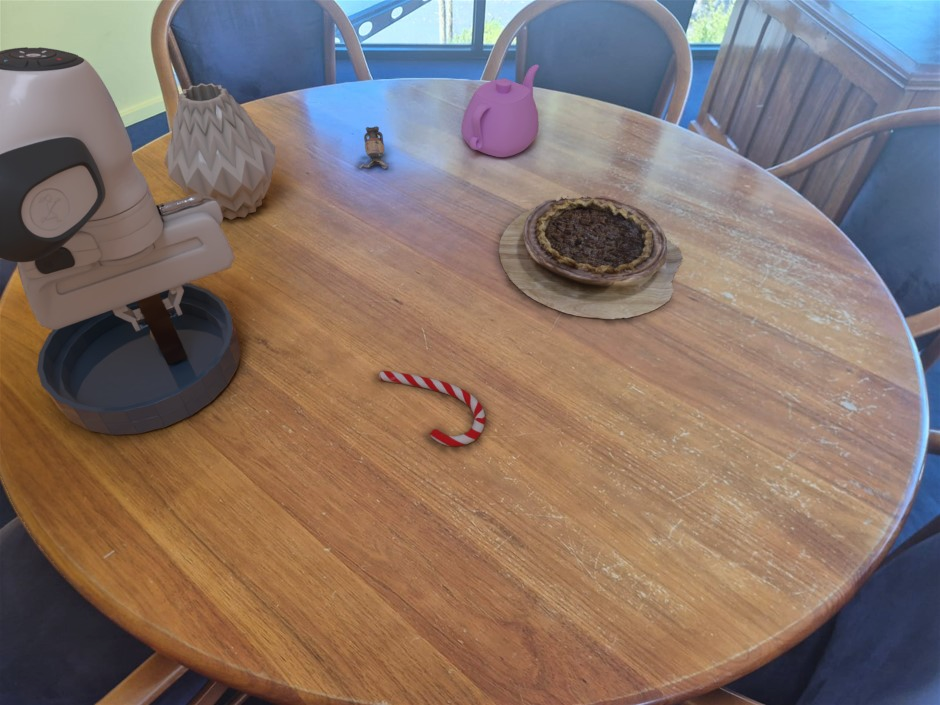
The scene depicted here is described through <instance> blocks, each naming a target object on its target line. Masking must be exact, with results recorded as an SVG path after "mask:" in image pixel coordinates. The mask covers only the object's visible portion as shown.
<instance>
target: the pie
mask: <svg viewBox="0 0 940 705" xmlns="http://www.w3.org/2000/svg"><path fill="white" fill-rule="evenodd" d="M498 254H499V259H500V263H501V266H502V269H503V270H504V271H505V273H506V275H507V276H508V278H509V280H510V281H511V282H512V283H513V284H514V285H515V286H516V287H517V288H518V289H519V290H520V291H521V292H522V293H524V294H525V295H526V296H528V297H529V298H531V299H532V300H534V301H536V302H537V303H539V304H542V305H544V306H546V307H548V308H551V309H553V310H556V311H559V312H562V313H564V314H568V315H571V316H576V317H583V318H594V319H603V320H617V319H623V318H624V319H629V318H632V317H637V316H641V315H645V314H647V313H651V312H653V311H655V310H656V309H659V308H660V307H663V306H664V305H665V304H667V303H668V302H669V301H670V300H671V297H672V296H673V293H674V291H675V290H674V288H673V282H672V281H674V280H675V278H674V276H675V275H676V273H677V272H678V267H680V265H681V263H682V262H683V261H682V260H683V254H682V250H681V248H680V247H679V246H678V245H676V244H675V243H672V242H671V240H670V239H668V238H667V236H666V234H665V232H664V230H663V228H662V227H661V225H660V224H659V222H657V220H656V219H655V218H654V217H652V216H651V215H649V214H648V213H647V212H645V210H642V209H641V208H638V207H636V206H634V205H631V204H628V203H626V202H624V201H622V200H618V199H615V198H613V197H608V196H603V195H601V196H595V197H594V198H593V197H591V196H586V197H584V196H580V197H578V198H577V197H576V198H574V197H573V198H569V195H567V196H566V197H565V198H564V197H562V196H561V197H560V199H559V200H557V199H548V200H544V201H543V202H542V203H541V204H538V205H537V206H535V207H533V208H531V209H529V210H526V211H525V212H523V213H521V214H520V215H519V216H518V217H516V218H515V219H514V220H513V221H511V223H510V224H508V226H507V227H506V228H505V230H504V232H503V234H501V238H500V241H499V247H498Z"/></svg>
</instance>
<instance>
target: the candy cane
mask: <svg viewBox="0 0 940 705" xmlns="http://www.w3.org/2000/svg"><path fill="white" fill-rule="evenodd" d="M378 379H379V380H380V381H382V382H387V383H395V384H401V385H407V386H412V387H417V388H423V389H427V390H431V391H434V392H439V393H443V394H446V395H448V396H451V397H453V398H456V399H457V400H459V401H461V402H463V403H464V404H465V405H466V406H468V407H469V409H470V410H471V412H472V414H473V418H474V419H473V424H472V426H471V427H470V429H469V430H468V431H466V432H464V433H462V434H459V435H448V434H445V433H443V432H442V431H440V430H438V429H437V428H434V429H432V430H431V432H430V433H429V435H430V438H432V439H433V440H434V441H436V442H437V443H439V444H441V445H444V446H448V447H461V446H466V445H468V444H471V443H473V442H475V441H476V440H477V439H478V438H479V437H480V436H481V434H482V432H483V430H484V428H485V424H486V414H485V411H484V408H483V405H482V404H481V403H480V401H479V400H478V399H477V398H476V397H475V396H473V395H472V394H471V393H470V392H468V391H466V390H464V389H462V388H461V387H459V386H456V385H454V384H451V383H449V382H445V381H442V380H438V379H434V378H429V377H425V376H422V375H421V376H420V375H416V374H411V373H405V372H399V371H392V370H381V371H380V372H379V374H378Z"/></svg>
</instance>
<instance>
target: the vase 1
mask: <svg viewBox="0 0 940 705" xmlns="http://www.w3.org/2000/svg"><path fill="white" fill-rule="evenodd" d="M178 98H179V100H178V102H177V108H176V111H175V114H174V115H173V118H172V124H171V125H172V126H171V134H170V139H169V141H168V145H167V149H166V153H165V157H164V161H163V165H164V166H165V167H166V169H167V171H168V177H169V179H170V180H172V181H173V182H174V183H175V184H176V185H178V186H179V188H181V189H182V191H183V192H184V193H185V194H186V195H187V196H190V195H193V194H201V196H210V197H213V198H214V199H216V200H217V201H218V203H219V205H220V208H221V211H222V214H223V219H224V218H226V219H228V220H230V221H231V220H234V219H236V218H237V217H238V218H246V217H247V215H248V214H252V213H256V211H257V208H258V207H261V206H262V205H263V200H264V199H265V197H266V194H267V192H268V190H269V188H270V185H271V183H272V177H273V171H274V167H275V165H276V163H277V158H276V156H275V153H276V146H275V144H274V143H273V142H272V141H271V139H269V138H268V136H267V135H266V134H265V132H264V131H263V130H262V129H261V128H260V127H259V126H257V125H256V124H255V122H254V121H253V119H252V117H251V116H250V115H249V113H248V112H247V110H246V109H245V107H244V106H242V105H241V104H240V103H238V102H237V101H236V100H235V98H234V97H233V95H232V94H229V92H228V90H227V88H225V87H224V88H223V86H222V85H221V84H217V85H216V84H213V82H211V83H208V84H205V83H202V82H201V83H199V84H198V85H189V88H183V89H182V93H179V95H178ZM203 201H204V200H203Z"/></svg>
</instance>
